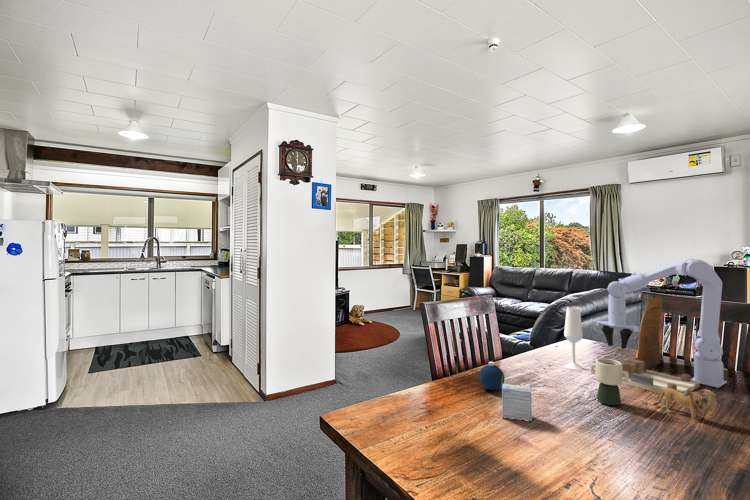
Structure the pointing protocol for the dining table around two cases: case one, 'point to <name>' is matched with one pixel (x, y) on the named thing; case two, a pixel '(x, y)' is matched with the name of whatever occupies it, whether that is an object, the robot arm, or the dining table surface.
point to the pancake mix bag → (650, 333)
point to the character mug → (609, 380)
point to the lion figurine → (689, 401)
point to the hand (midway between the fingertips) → (617, 346)
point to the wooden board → (634, 366)
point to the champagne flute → (573, 332)
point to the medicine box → (517, 402)
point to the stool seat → (662, 382)
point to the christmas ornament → (491, 376)
